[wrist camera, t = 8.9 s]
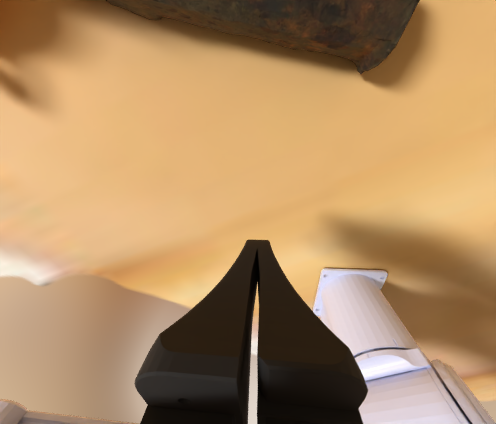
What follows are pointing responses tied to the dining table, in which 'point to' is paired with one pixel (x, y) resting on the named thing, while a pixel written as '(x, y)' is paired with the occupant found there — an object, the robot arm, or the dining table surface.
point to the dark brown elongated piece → (296, 22)
